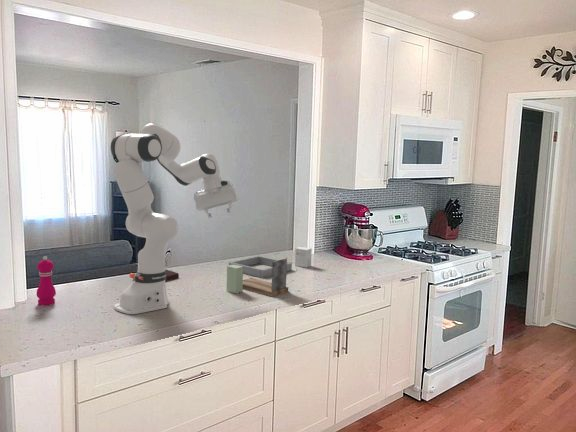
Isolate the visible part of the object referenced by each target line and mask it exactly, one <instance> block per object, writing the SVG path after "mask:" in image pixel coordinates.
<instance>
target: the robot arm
mask: <svg viewBox="0 0 576 432" xmlns="http://www.w3.org/2000/svg"><path fill="white" fill-rule="evenodd" d="M110 151H111V155H112V158H113V161H114V162H115V163H116V164H115V166H114V167H113V169H114V170H113V171H114V175H115V180H116V182H117V185H118V189H119V190H120V193H121V195H122V198H123V199H124V202H125V205H126V206H127V212H128V215H127V216H126V219H125V227H126V230H127V231H128V232H129V234H130V233H131V234H132V235H134V236H136V237H139V238H145V243H144V246H143V248H142V249H140V250H139V251H138V253H137V271H136V273H134V272H133V273H132V272H130V273H129V275H128V277H129V278H131V279H133V278H134V281H133V280H132V282H131V283H130V284H129V285H128V286H127V287H126V288H125V289H124V290H123V291H122V292H121V293H120V297H119V302H118V303H115V304H114V306H113V308H114V309H115V310H116V311H117V312H120V313H123V314H127V315H138V314H143V313H147V312H152V311H157V310H163V309H166V308H168V305H169V302H170V301H169V299H168V293H167V287H166V281H165V280H166V270H167V269H166V253H167V249H168V246H169V244H170V242H171V241H172V240H173V239H174V238H175V237H176V236H177V234H178V231H179V224H178V221H177V220H176V219H175V218H174V217H172V216H170V215H168V214H166V213H165V214H164V213H157V212H155V211H153V209H152V203H153V202H154V200H155V196H154V194H153V191H152V188H151V186H150V184H149V181H148V179H147V177H146V175H145V173H144V171H143V167H142V163H143V162H146V163H149V162H154V161H156V160H157V162H158V164H160V165H161V167H162V168H163V169H165V170H166V171H167V172H168V173H169V174H170V175H172V177H173V178H174V179H175V181H176V182H177V183H178V184H180V185H182V186H189V185H191V184H193V183H194V182H198V181H199V180H203V182H202V183H203V188H204V189H203V190H202V189H201V191H196V192H195V193H194V194H193V199H194V201H195V208H196V210H197V211H199V212H201V211H204V212H205V214H207V217H208V219H210V218H213V216H212V215H213V214H212V213H210V212H209V210H210V209H213V208H217V207H221V206H224V205H228V208H226V211H227V213H228V214H229V213H232V210H231V209H232V206H233V203H237V202H238V200H239V197H238V194H237V191H236V189H235V188H234V187H233V182H231V181H230V180H222V178H221V174H220V173H221V171H220V166H219V164H218V161H217V159H216V157H215V155H214V154H212V153H205V154H202V155H201V156H199V157H196V158H194V159H192V160H189V161H187V162H184V163H181V164H180V163H179V164H178V163H177V162H176V161H175V159H177V157H178V156H179V154H180V152H181V142H180V140H179V138H178V137H177V136H176V135H175V134H173V133H172V132H170V131H169V130H168V129H165V128H164V127H162V126H160V125H158V124H155V123H147V124H146V125H144V126H143V127H142V128H141V129H140V132H139V133H128V134H127V133H126V134H124V133H123V134H118V135H117V136H114V137H113V138H112V139H111V143H110ZM165 269H166V270H165Z"/></svg>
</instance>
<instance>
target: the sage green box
mask: <svg viewBox="0 0 576 432" xmlns="http://www.w3.org/2000/svg"><path fill="white" fill-rule="evenodd" d="M243 280H244V273H243V267H242V266H238V265H230V266H229V265H226V292H229V293H233V294H235V293H236V294H238V293H239V292H240V293H242V292H243V290H244V289H243ZM240 293H239V294H240Z"/></svg>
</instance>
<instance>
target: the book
mask: <svg viewBox="0 0 576 432" xmlns="http://www.w3.org/2000/svg"><path fill="white" fill-rule="evenodd" d="M165 270H166V280H165V282H167V280H168V281H171V279H172V280H176V279H179V275H180V274H179V273H178V272H177V271H176V272H175V271H172V270H169V269H166V268H165ZM133 281H134V278H132V282H133Z"/></svg>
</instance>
